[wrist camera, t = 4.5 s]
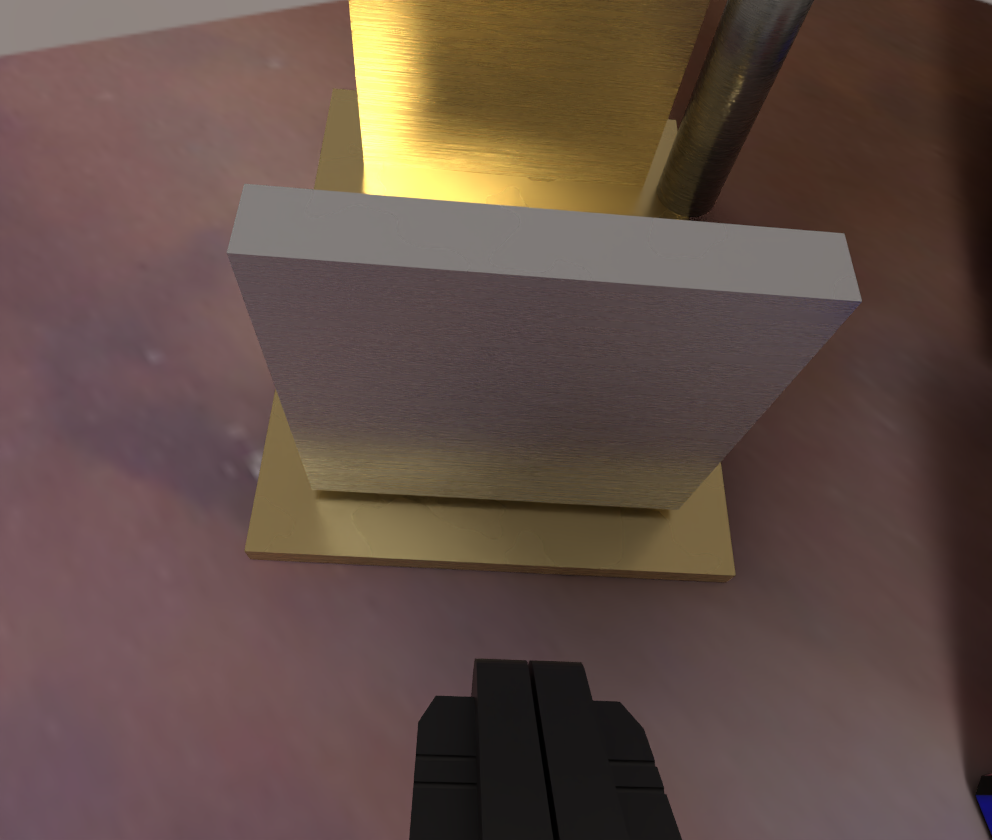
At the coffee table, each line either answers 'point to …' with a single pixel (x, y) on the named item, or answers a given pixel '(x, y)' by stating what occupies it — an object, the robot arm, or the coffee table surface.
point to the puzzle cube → (985, 798)
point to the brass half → (537, 184)
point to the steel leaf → (526, 341)
